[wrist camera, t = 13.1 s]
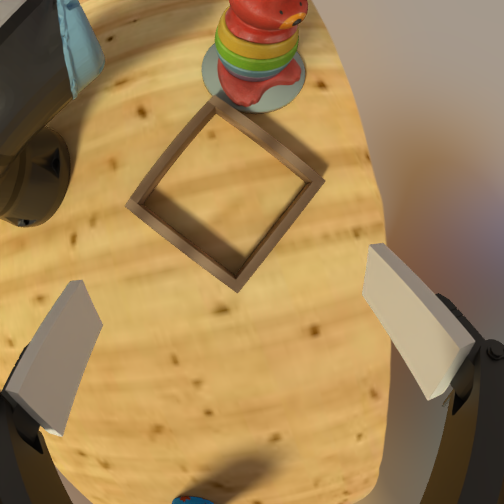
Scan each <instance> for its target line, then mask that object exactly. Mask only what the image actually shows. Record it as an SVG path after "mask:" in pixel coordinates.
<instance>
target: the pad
mask: <svg viewBox="0 0 504 504" xmlns="http://www.w3.org/2000/svg"><path fill="white" fill-rule="evenodd" d="M218 58H219V57H218V54H217V51H216V48H215V43H214V44H213V45H212V46H211V47H210V48H209V50H208V51H207V53H206V54H205V56H204V59H203V63H202V76H203V81H204V84H205V86H206V88H207V90H208V92H209V93H210V94H211V95H212V96H213V95H215V96H217V97H218V98H220V99H221V100H223V101H224V102H226V103H227V104H229V105H230V106H232V107H233V108H234V109H236V110H237V111H239V112H243V113H251V114H261V113H268V112H272V111H276V110H278V109H281V108H283V107H285V106H286V105H288V104H289V103H290V102H291V101H292V100H294V99H295V97H296V96H297V95H298V93H299V92H300V90H301V88H302V86H303V83H304V79H305V68H304V64H303V61H302V59H301V57H300V55H299V54H298V52H297V51H296V53H295V55H294V57H293V58H294V59H295V60H296V62H297V63H298V64H299V66H300V68H301V74H300V76H301V77H300V80H299V81H298V82H295V83H294V84H293V85H277V86H274V87H271V88H269V89H268V90H267V91H265V93H264V94H263V95H262V97H261V99H260V101H259V102H258V103H256V104H254V105H251V106H249V107H244V106H238V105H236V104H235V103H233V102H232V101H231V100H230V99H229V97H228V96H227V95H226V93H225V92H224V90H223V88H222V86H221V84H220V81H219V78H218V71H217V64H218Z"/></svg>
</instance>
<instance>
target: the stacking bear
mask: <svg viewBox="0 0 504 504" xmlns="http://www.w3.org/2000/svg"><path fill="white" fill-rule="evenodd" d="M229 3H230V6H229V7H228V8H227V9H226V10H225V11H224V13H223V14H222V16H221V18H220V21H219V24H218V27H217V30H216V34H215V48H216V51H217V54H218V57H219V58H218V64H217V71H218V78H219V81H220V84H221V86H222V88H223V90H224V92H225V93H226V95H227V96H228V97H229V99H230V100H231V101H232V102H233V103H235V104H236V105H238V106H244V107H249V106H251V105H254V104H256V103H258V102H259V101H260V99H261V97H262V95H263V94H264V93H265V91H267V90H268V89H269V88H271V87H274V86H277V85H293V84H294V83H295V82H298V81H299V80H300V77H301V76H300V74H301V68H300V66H299V64H298V63H297V62H296V60H295V59H294V58H293V57H294V55H295V53H296V51H297V47H298V40H299V36H298V32H299V30H298V24H299V23H300V22H301V21H303V19H304V18H305V16H306V14H307V10H308V2H307V0H229Z"/></svg>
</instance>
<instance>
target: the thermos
mask: <svg viewBox="0 0 504 504" xmlns="http://www.w3.org/2000/svg"><path fill="white" fill-rule="evenodd" d="M172 504H214V503H213V502H211V501H209V500H206V499H203V498H198V497H190V496H184V497H178V498H175V499H174V500H173V501H172Z"/></svg>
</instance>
